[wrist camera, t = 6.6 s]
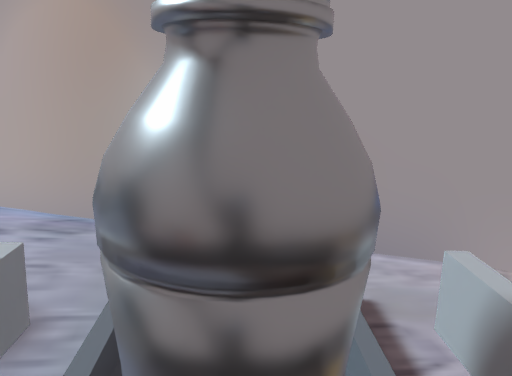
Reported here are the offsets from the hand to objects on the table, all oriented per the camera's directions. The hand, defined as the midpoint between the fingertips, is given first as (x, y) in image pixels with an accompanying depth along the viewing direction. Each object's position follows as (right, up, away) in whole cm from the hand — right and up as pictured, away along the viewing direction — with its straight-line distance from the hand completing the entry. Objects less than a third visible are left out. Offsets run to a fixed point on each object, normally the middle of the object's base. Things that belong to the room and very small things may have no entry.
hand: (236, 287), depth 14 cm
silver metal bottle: (0, -12, -1) cm, 12 cm away
